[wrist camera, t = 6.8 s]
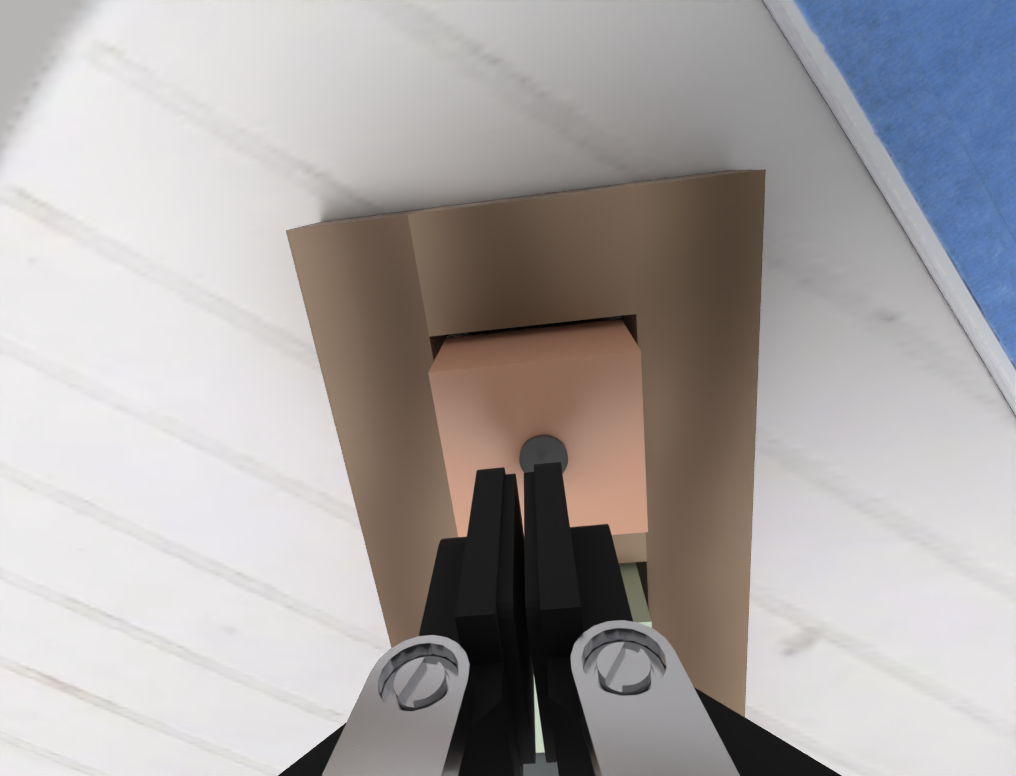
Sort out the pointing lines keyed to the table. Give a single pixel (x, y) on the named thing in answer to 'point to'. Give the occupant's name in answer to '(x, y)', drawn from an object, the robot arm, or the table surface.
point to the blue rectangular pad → (931, 138)
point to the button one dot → (547, 417)
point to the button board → (543, 300)
